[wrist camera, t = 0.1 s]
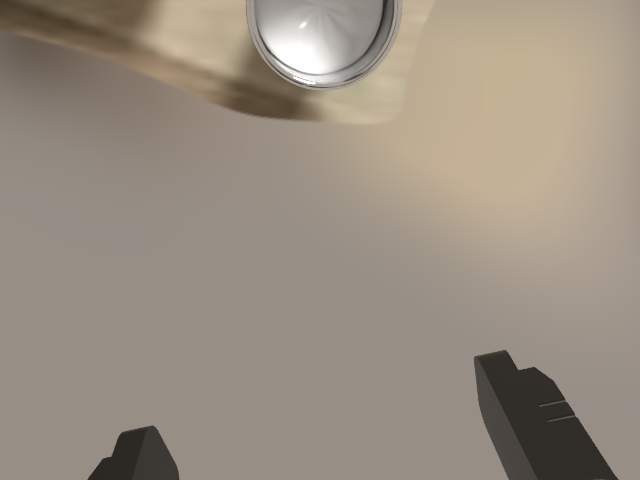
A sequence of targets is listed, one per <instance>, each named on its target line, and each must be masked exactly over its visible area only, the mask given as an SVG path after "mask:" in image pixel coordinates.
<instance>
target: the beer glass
mask: <svg viewBox="0 0 640 480" xmlns="http://www.w3.org/2000/svg"><path fill="white" fill-rule="evenodd" d="M246 16H247V23H248V27H249V31H250V34H251V37H252V40H253V42H254V45H255V47H256V49H257V50H258V52H259V54H260V55H261V57H262V58H263V60H264V61H265V62H266V63H267V65H268V66H269V67H270V68H271V69H272V70H273V71H274V72H275V73H277V74H278V75H279V76H280V77H282V78H283V79H285V80H287V81H288V82H290V83H292V84H294V85H297V86H299V87H302V88H306V89H310V90H318V91H329V90H336V89H341V88H345V87H348V86H350V85H353V84H355V83H357V82H359V81H361V80H362V79H364V78H365V77H367V76H368V75H369V74H371V73H372V72H373V71H374V70H375V69H376V68H377V67H378V66H379V65H380V64H381V63H382V62H383V60H384V59H385V58H386V56H387V55H388V53H389V51H390V50H391V48H392V46H393V44H394V42H395V39H396V37H397V34H398V31H399V27H400V23H401V16H402V0H246Z"/></svg>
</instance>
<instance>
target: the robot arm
mask: <svg viewBox="0 0 640 480" xmlns="http://www.w3.org/2000/svg"><path fill="white" fill-rule="evenodd" d="M474 365H475V373H476V382H477V391H478V400H479V406H480V410H481V414H482V417H483V420H484V423H485V426H486V428H487V431H488V433H489V435H490V438H491V440H492V442H493V444H494V447H495V449H496V451H497V453H498V456H499V458H500V460H501V463H502V465H503V467H504V469H505V472H506V474H507V476H508V478H509V480H618V479H617V477H616V476H615V475H614V473H613V472H612V470H611V469H610V467H609V466H608V464H607V463H606V461H605V459H604V458H603V456H602V455H601V453H600V452H599V450H598V449H597V447H596V446H595V444H594V443H593V441H592V439H591V438H590V436H589V435H588V434H587V432H586V430H585V429H584V427H583V426H582V424H581V422H580V421H579V419H578V418H576V416H575V413H574V412H573V410H572V409H571V407H570V406H569V404H568V403H566V401H565V398H564V396H563V395H562V393H561V392H560V390H559V389H558V387H557V386H556V384H555V382H554V381H553V380H552V379H550V378H549V377H547V376H546V375H545V374H543V373H542V372H541V371H539V370H538V369H536V368H535V367H532V368H528V369H523V370H518V369H517V367H516V365H515V364H514V362H513V360H512V359H511V357H510V355H509V354H508V352H507V351H506V350H503V351H498V352H494V353H489V354H484V355H479V356H475V357H474ZM88 480H179V473H178V469H177V466H176V464H175V462H174V460H173V458H172V456H171V455H170V452H169V451H168V449H167V447H166V445H165V443H164V441H163V439H162V437H161V436H160V434H159V432H158V430H157V429H156V427H154V426H148V427H143V428H138V429H134V430H129V431H125V432H122V433H121V434H120V436H119V438H118V440H117V443H116V445H115V448H114V451H113V454H112V457H108V458H104V459H102V461H101V462H100V463H99V465H98V466H97V467H96V469H95V470H94V472H93V473H92V474H91V475H90V477H89V478H88Z"/></svg>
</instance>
